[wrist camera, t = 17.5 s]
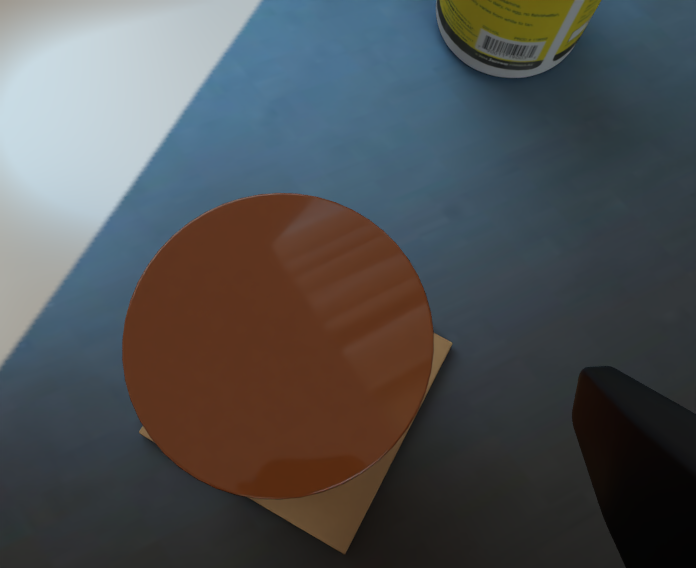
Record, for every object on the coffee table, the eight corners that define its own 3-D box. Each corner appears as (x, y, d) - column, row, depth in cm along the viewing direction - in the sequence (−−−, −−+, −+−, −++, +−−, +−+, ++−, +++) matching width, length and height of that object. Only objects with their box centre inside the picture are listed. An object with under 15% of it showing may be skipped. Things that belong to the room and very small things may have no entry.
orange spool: (419, 333, 23) (474, 251, 14) (354, 516, 21) (371, 551, 12) (248, 269, 23) (200, 152, 15) (171, 443, 21) (64, 427, 13)
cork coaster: (451, 344, 23) (453, 342, 23) (344, 553, 21) (344, 555, 21) (261, 242, 24) (260, 238, 24) (141, 433, 22) (138, 432, 22)
